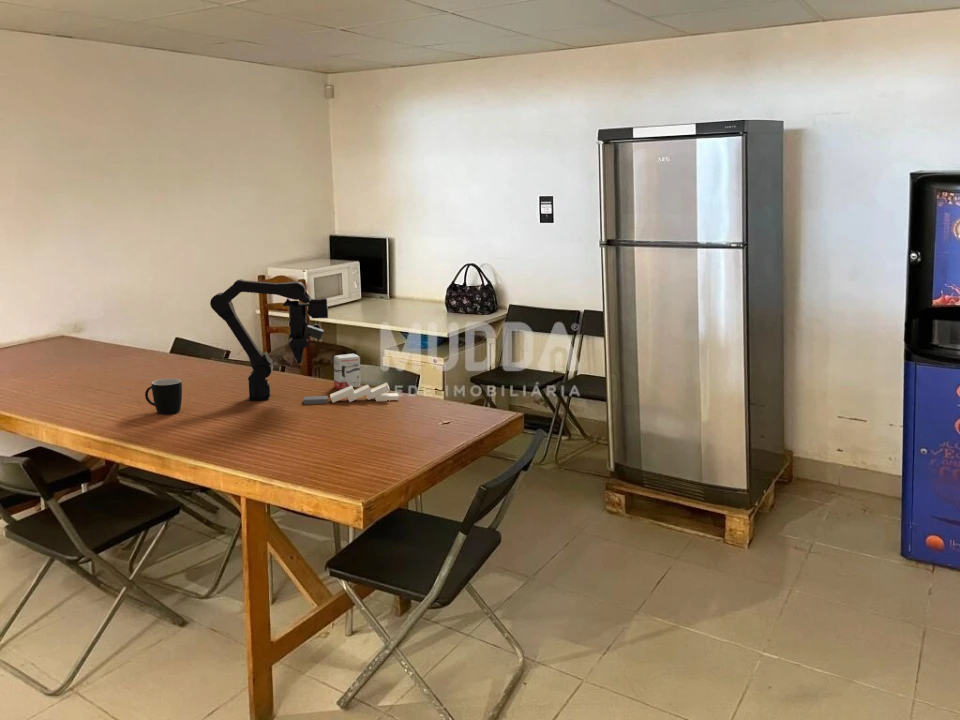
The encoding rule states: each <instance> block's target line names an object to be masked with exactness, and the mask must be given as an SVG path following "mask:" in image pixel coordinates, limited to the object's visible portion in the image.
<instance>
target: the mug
mask: <svg viewBox="0 0 960 720" xmlns="http://www.w3.org/2000/svg"><path fill="white" fill-rule="evenodd" d="M182 383H183V382H182V379H179V378H161V379H156V380H153V381H152V382H151V386H149V387H148V388H146V390H145V393H144V397H145V400H146V401H147V402H146V403H149V404H150V405H151V406H153V407H155V410H156V412H157V413H158V414H159V415H162V416H164V415H165V416H167V415H169V416H170V415H176V414H179V412H180V411H181V407H182V398H183V384H182ZM150 390H151V392H152V396H153V397H152V398H153V401H152V400H151V399H150V397H149V391H150Z"/></svg>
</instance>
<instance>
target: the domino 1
mask: <svg viewBox="0 0 960 720" xmlns="http://www.w3.org/2000/svg"><path fill="white" fill-rule="evenodd" d="M322 404H323V405H324V404H329V396H328V395H314V396H303V405H322Z"/></svg>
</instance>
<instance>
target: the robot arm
mask: <svg viewBox="0 0 960 720" xmlns="http://www.w3.org/2000/svg"><path fill="white" fill-rule="evenodd" d="M306 290H307V289H306V286H305V284H304V283H303V282H301V281H297V280H296V281H285V282H270V281H269V282H268V281H267V282H266V281H256V280H244V279H241V278H240V279H237V280H236V281H235V282H234V283H233V284H231V286H229V287H228V288H227V289H225V291H224V292H218V293H217V294H215V295H214V296H212V298H211V299H210V302H209V304H210V307H211V309H212V310H213V312H215V313H216V314H217V315H218V317H220V318H221V319H222V320H223V321H224V322H225V323H226V324H227V326H228V328H229V329H230V331H231V332H232V333H233V336H234V337H235V338H236V340H237V342H239V344H240V346H241V347H242V349H243V351H245V353H246V354H247V357H248V360H249V362H250V366H251V369H252V371H251V372H250V374H249V375H248V377H247V380H248V392H249V393H248V401H267V400H268V401H269V398H271V385H270V383H269V381H268V379H267V378H268V377H269V376H271V374H272V372H273V369H274V364H273V362H274V360H273V359H272V358H271V357H270V355H269V353H268V351H264V352H262V351H261V350H260V349H259V348H258V346H257V344H256V343H255V342H254V340H253V338H252V336H250V334H249V332H248V331H247V329H246V328H245V326H244V324H243V323H242V322H241V320H240V318H239V317H238V315H237V313H236V309H235V306H234V304H233V301H232V300H233V299H235V298H236V297H237V296H239V295H240V294H241V293H251V294H262V295H274V296H275V295H277V296H280V297H283V298H286V300H285V301H284V302H283V303H282V306H283V307H288V323H289V325H288V326H289V333H288V339H289V341H288V343H289V344H288V345H289V348H290V349H291V352H292V354H293V356H294V358H295V360H296V363H297V364H300V365H301V364H302V358H303V353H304V350H305V349H306V348H309V339H308V338H309V337H311V338H314V339H317V340H318V341H321V340H322V338H323V335H324V332H325V331H324V329H322V328H320V324H317V323H314V324H313V325H310V324H308V321H307V316H309V317H311V319H329V307H328V298H326V297H324V298H312V297H311V296H310V295H309V293H308V292H307V291H306Z"/></svg>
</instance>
